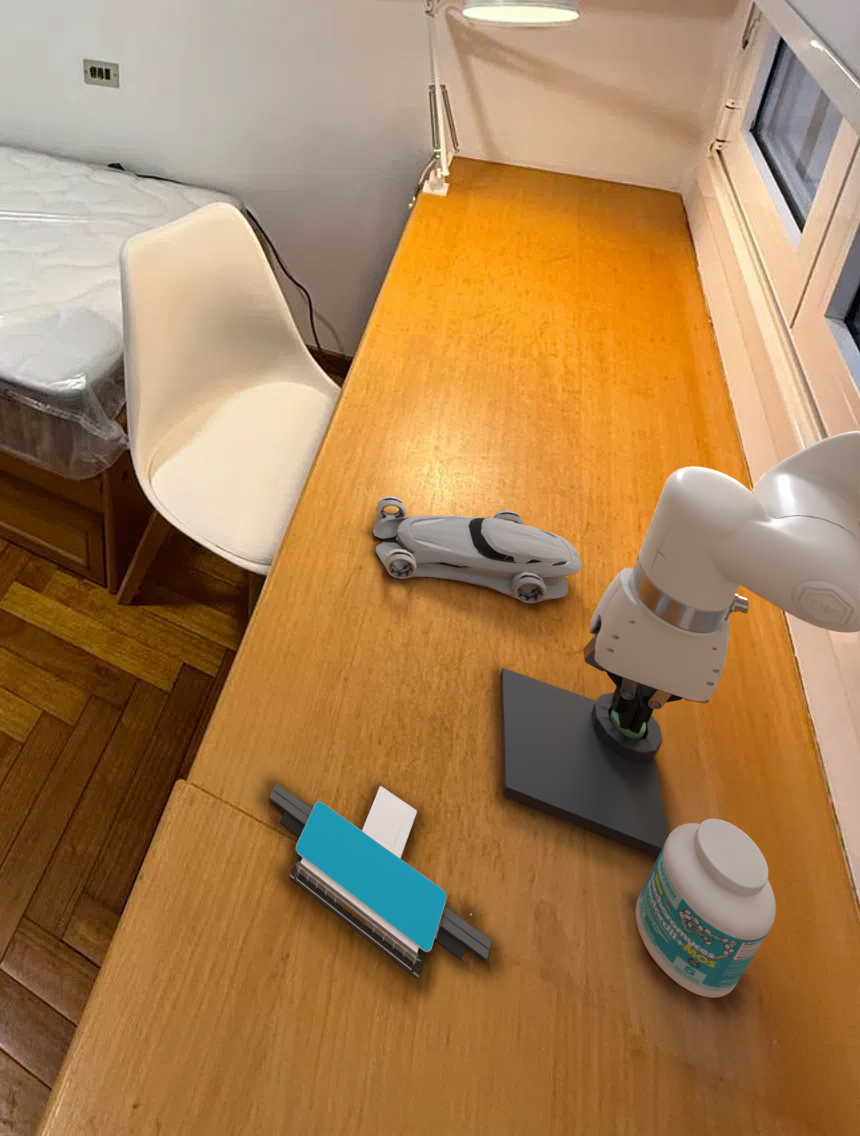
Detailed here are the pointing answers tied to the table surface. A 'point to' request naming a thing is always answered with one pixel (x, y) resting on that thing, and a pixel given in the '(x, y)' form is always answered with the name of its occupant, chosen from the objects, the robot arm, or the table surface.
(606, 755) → the scale
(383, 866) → the blue paper trimmer
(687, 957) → the pill bottle
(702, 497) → the robot arm
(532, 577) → the car model
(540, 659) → the table surface
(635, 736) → the button
